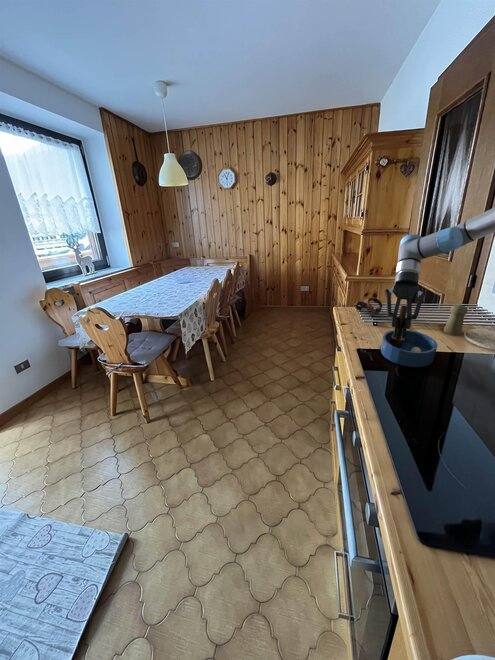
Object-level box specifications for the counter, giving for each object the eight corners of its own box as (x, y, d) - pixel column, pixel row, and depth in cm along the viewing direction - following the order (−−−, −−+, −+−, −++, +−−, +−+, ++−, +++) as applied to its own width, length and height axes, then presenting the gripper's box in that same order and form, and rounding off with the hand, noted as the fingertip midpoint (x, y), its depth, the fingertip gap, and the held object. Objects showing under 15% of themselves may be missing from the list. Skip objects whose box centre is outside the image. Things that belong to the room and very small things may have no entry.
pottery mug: (372, 308, 138) (381, 297, 132) (376, 323, 133) (386, 312, 126) (349, 304, 137) (357, 292, 130) (352, 319, 131) (361, 308, 125)
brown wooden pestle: (405, 344, 102) (414, 306, 95) (399, 348, 100) (408, 310, 93) (393, 339, 105) (400, 303, 98) (387, 344, 103) (394, 306, 96)
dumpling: (412, 350, 100) (421, 354, 98) (408, 354, 98) (417, 358, 97) (414, 344, 98) (423, 347, 96) (410, 348, 97) (419, 351, 95)
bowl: (442, 355, 98) (446, 341, 96) (418, 373, 90) (422, 358, 88) (396, 338, 111) (399, 325, 108) (371, 352, 102) (373, 339, 100)
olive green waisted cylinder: (461, 336, 109) (469, 310, 104) (442, 332, 112) (449, 307, 107) (462, 330, 113) (470, 304, 108) (444, 327, 116) (451, 302, 111)
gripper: (428, 281, 103) (422, 342, 97) (383, 279, 109) (374, 336, 103) (433, 271, 96) (427, 336, 91) (385, 269, 102) (376, 329, 96)
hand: (399, 336), depth 97 cm, fingers closed on brown wooden pestle, 2 cm apart
